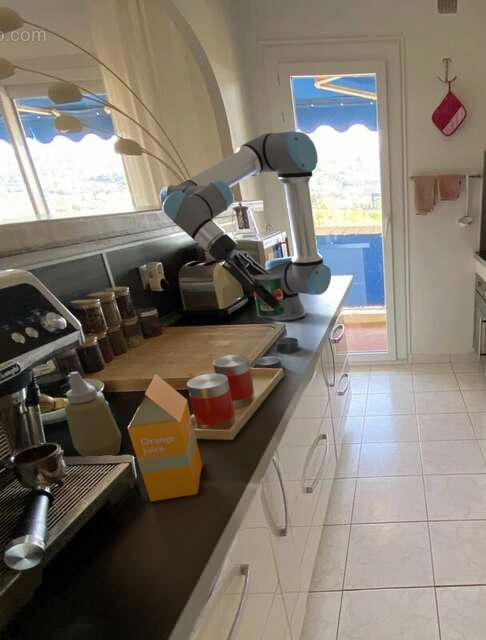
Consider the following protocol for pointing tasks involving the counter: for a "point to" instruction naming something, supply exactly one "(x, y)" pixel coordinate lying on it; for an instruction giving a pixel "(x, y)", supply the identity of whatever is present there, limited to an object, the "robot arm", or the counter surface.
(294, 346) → the grey tin
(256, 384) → the tray
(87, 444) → the squeeze bottle
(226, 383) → the label can
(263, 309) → the canned tomato
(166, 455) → the orange juice
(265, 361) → the grey tin
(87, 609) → the counter surface
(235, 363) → the can label
